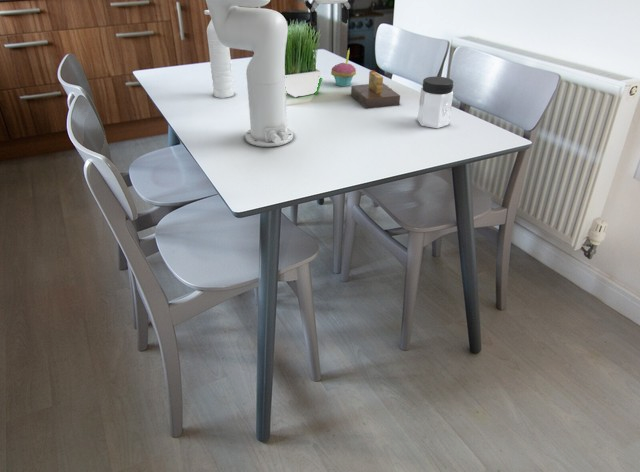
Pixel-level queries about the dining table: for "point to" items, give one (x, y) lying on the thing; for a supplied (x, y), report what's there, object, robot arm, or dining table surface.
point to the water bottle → (219, 64)
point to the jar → (435, 102)
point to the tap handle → (375, 82)
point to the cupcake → (343, 72)
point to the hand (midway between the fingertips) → (329, 23)
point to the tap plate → (375, 96)
